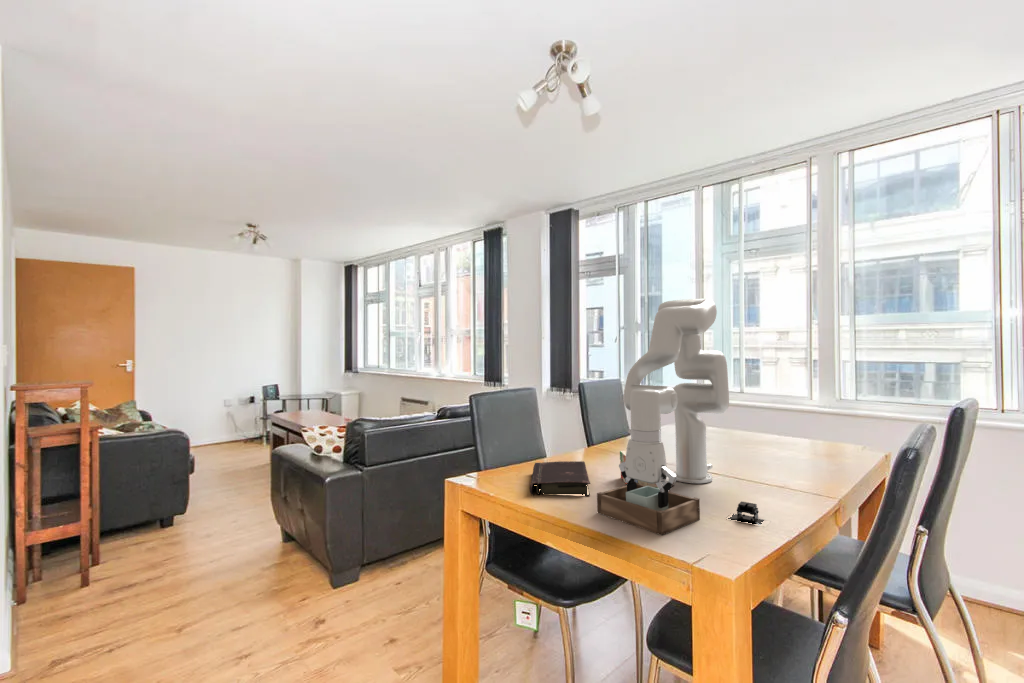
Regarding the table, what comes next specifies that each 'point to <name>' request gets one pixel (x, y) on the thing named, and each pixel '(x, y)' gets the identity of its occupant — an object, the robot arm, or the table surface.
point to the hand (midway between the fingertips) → (647, 502)
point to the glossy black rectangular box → (747, 508)
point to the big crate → (649, 511)
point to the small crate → (645, 497)
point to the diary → (560, 477)
